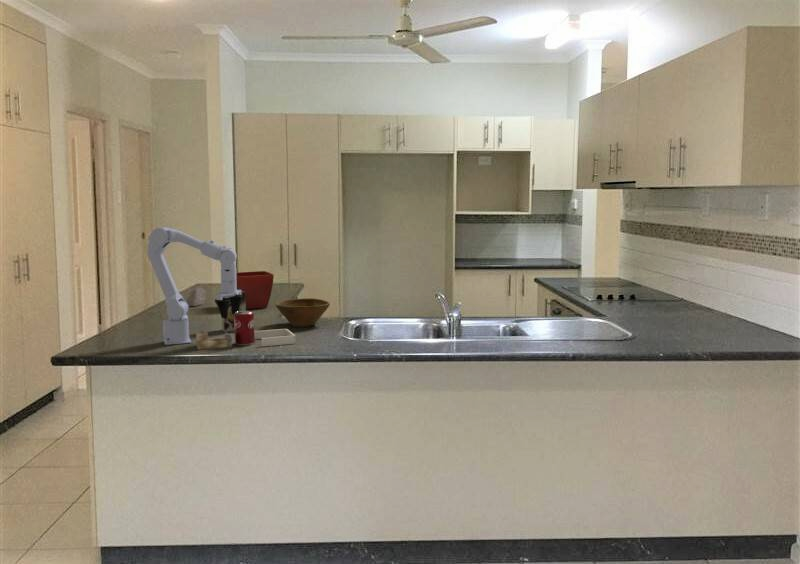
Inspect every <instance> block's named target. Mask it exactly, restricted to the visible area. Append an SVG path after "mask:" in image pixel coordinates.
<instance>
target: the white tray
mask: <svg viewBox="0 0 800 564" xmlns="http://www.w3.org/2000/svg"><path fill="white" fill-rule="evenodd" d="M254 334H255V340H259V339H260V340H261V342H260V343H261V347H271V346H286V345H294V344H295V345H296V344H297V336H296V335H295V334H294V333H293V332H292V331H290V330H289V329H288V328H279V329H265V330H254Z"/></svg>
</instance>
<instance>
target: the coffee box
mask: <svg viewBox="0 0 800 564" xmlns="http://www.w3.org/2000/svg"><path fill="white" fill-rule="evenodd" d="M241 293H242V295H240V296H243V300H242V301H241V304H240V307H239V311H247V309H246V301H245V292H244V291H241ZM226 300H229V298H226ZM221 324H222V325H221V328H222V332H223V333H229V332H235V329H234V315H233V314H232V309H231V303H229V307H228V317H227V318H222V317H221Z"/></svg>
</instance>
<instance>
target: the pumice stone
mask: <svg viewBox="0 0 800 564" xmlns="http://www.w3.org/2000/svg"><path fill="white" fill-rule="evenodd" d="M206 298H207V293H206V290H205V289H204V288H202V286H201V285H198V286H195V287H194V288H193V289H192V292H190V295H189V296H188V297H187V299H186V300H185V301H186V302H187V303H188V305H189V307H195V306H199V305H203V304H204V303H205V300H206Z"/></svg>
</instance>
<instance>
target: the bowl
mask: <svg viewBox="0 0 800 564" xmlns="http://www.w3.org/2000/svg"><path fill="white" fill-rule="evenodd" d="M330 304H331V303H330V301H327V300H324V299H320V298H319V299H318V298H311V297H310V298H309V297H308V298H292V299H291V298H290V299H284V300H281V301H277V302H276V303H275V304H274V305H275V307H276V308H277V310H279V312H280V313H281V314H282V316H283V317H284V318H285V319H286V321H288V322H289V324H290V325H291V326H293V327H300V328H302V327H304V328H305V326H306V327H311V325H312V326H315V324H317V323H318V321H319V320H320V319H321V317H322V316H323V315H324V313H325V312H326V311H327V310H328V308H329V307H330Z"/></svg>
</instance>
